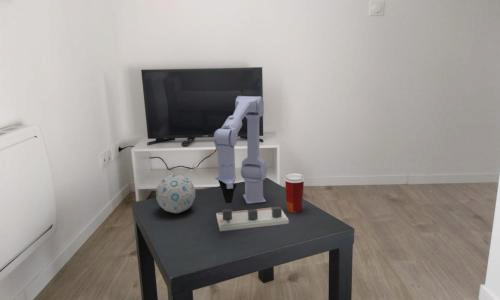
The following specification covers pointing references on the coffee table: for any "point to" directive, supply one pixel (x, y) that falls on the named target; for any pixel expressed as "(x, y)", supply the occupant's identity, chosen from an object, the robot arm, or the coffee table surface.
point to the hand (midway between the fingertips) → (228, 201)
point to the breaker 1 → (227, 214)
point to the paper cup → (294, 192)
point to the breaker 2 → (252, 214)
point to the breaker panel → (243, 222)
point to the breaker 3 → (276, 211)
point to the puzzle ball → (175, 193)
